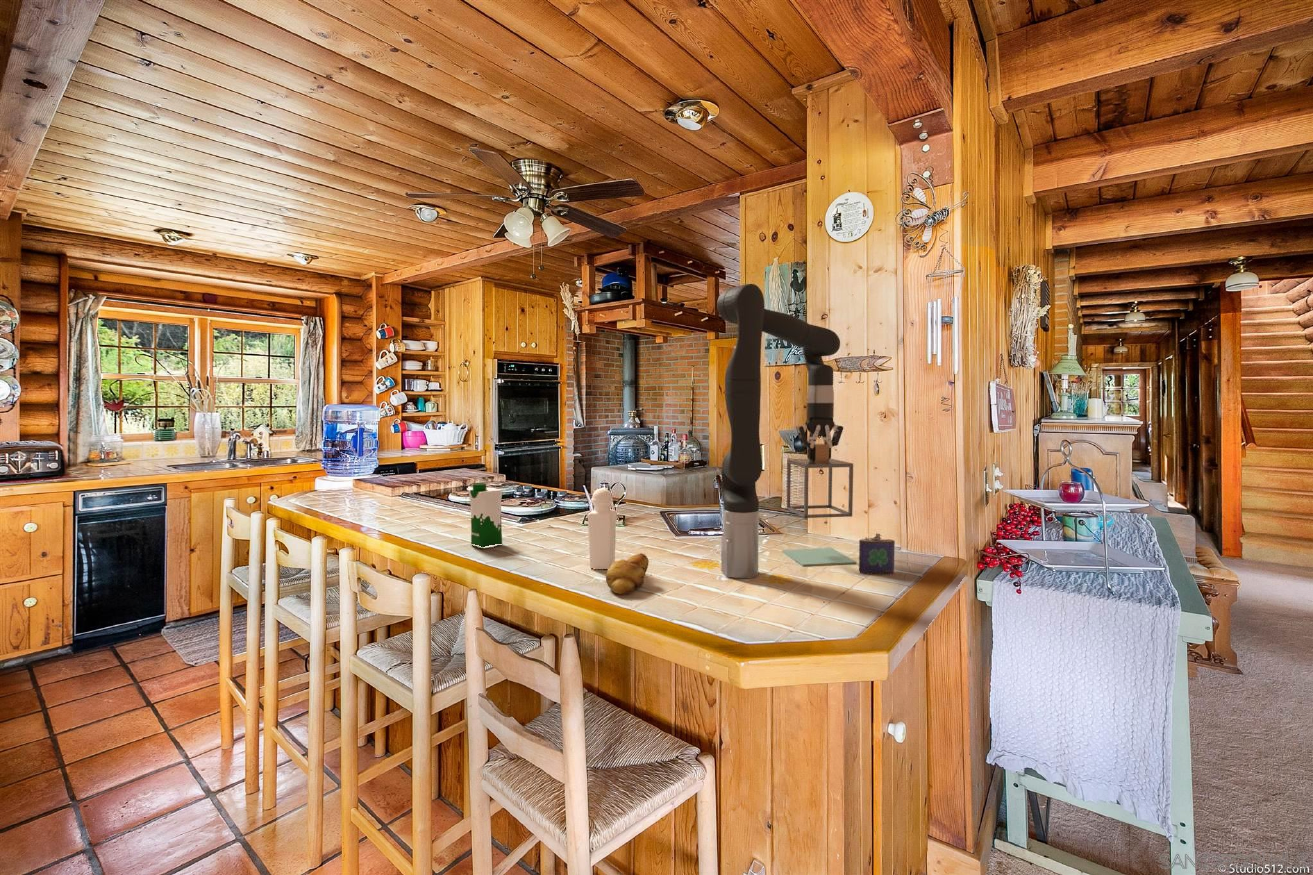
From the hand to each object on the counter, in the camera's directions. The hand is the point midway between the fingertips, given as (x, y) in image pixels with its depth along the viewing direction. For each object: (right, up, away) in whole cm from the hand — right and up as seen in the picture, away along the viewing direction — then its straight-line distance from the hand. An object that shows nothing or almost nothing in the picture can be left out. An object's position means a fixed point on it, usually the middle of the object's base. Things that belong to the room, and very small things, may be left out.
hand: (819, 460), depth 171 cm
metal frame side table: (0, -15, +1) cm, 15 cm away
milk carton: (-101, -28, +17) cm, 106 cm away
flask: (+12, -30, -13) cm, 35 cm away
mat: (0, -28, +2) cm, 29 cm away
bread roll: (-55, -31, -26) cm, 68 cm away
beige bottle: (-62, -29, -7) cm, 69 cm away
